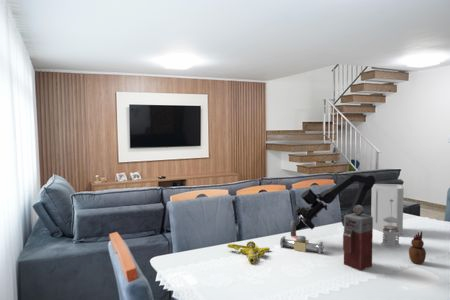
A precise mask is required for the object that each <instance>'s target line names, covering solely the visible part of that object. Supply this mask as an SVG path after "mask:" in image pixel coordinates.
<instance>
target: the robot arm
mask: <svg viewBox="0 0 450 300" xmlns="http://www.w3.org/2000/svg"><path fill="white" fill-rule="evenodd" d="M376 181H377V180H376V178H375V176H374V175H371V174H368V173H367V174H366V173H364V174H354V173H349V174H348V175H347V176H346V177H344V178H343V179H342V180H340V181H339V182H338V183H336V184H335V185H334V186H332V187H331V188H327V189H325V190H322V191H321V192H320V193H316V194H315V193H314V191H313V190H312V189H311V188H308V189H307V190H305V191H303V192H302V193H301V195H300V198H301V199H302V200H303V201H304V202H305V203H306V204H307V205H310V206H309V207H308V206H306V207H304V206H303V205H302V206H301V205H299V204H296V205H295V207H294V209H293V210H294V211H295V213H294V214H295V215H296V216H297V217H296V218H297V221H296V231H298V230H301V229H305V228H309V229H311V230H313V229H314V228H315V224H314V222H312V220H314V219H315V218H317V217H318V215H319V213H320V212H321V211H322V210H323V209H324V210H325V211H328V204H331V203H333V201H334V200H336V198H337V196H338V195H339V194H340V193H342V192H343V191H344V190H346V189H347V188H348V187H350V186H351V185H353V184H354V183H355V182H357V183H358V190H357V193H356V195H355V197H354V200H353V202H352V204H351V207H350V209H349V211H348V212H347V213H345V212H344V213H343V216H342V218H341V225H342V226H343V227H344V216H345V215H348V214H352V213H354V211H353V208H354V206H357V205H361V206H362V207H363V204H364V201H365V200H366V197H367V195H368V192H369V191H371V190H372V187H373V185H374V184H376ZM324 203H325V204H324Z"/></svg>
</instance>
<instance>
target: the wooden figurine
mask: <svg viewBox="0 0 450 300" xmlns="http://www.w3.org/2000/svg"><path fill="white" fill-rule="evenodd" d="M410 245H411V246H410V247H409V249H408V257H409V260H410V261H411V262H412V263H414V264H416V265H423V264H424V262H425V260H426V255H427V253H426V252H427V251H426V249H425V248H424V246H425V245H424V241H423V230H421V231H420V232H419V231H418V232H417V234H415V235H414V236H413V239H411V243H410Z"/></svg>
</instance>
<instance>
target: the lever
mask: <svg viewBox="0 0 450 300" xmlns="http://www.w3.org/2000/svg"><path fill="white" fill-rule="evenodd" d="M296 223H297V221H296V220H290V237H291V238H293V239H294V240H296V239H297V241H299V242H305V241H306V240H307V238H306V236H305V235H297V230H296Z"/></svg>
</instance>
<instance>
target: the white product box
mask: <svg viewBox="0 0 450 300" xmlns="http://www.w3.org/2000/svg"><path fill="white" fill-rule="evenodd" d="M390 199H392V200H393V202H392V211H391V202H390ZM370 206H371V214H370V216H372V217H373V230H376V231H379V232H382V233H383V229H384V226H387V225H388V222H386V221H384V220H383V219H384V218H385V217H394V218H397V219H398V220H399V222H398V223H392V226H396V227H398V229H397V230H399V235H398V236H399V237H401V236H403V235H404V234H403V230H404V228H403V227H404V224H403V223H404V185H403V184H400V183H399V184H396V183H395V184H394V183H393V184H392V183H390V184H389V183H375V184H374V185H373V187H372V188H371V205H370ZM389 225H390V226H391V223H390V222H389ZM389 232H391V230H389Z"/></svg>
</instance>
